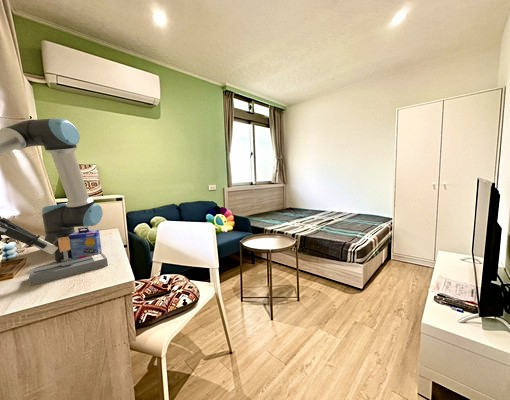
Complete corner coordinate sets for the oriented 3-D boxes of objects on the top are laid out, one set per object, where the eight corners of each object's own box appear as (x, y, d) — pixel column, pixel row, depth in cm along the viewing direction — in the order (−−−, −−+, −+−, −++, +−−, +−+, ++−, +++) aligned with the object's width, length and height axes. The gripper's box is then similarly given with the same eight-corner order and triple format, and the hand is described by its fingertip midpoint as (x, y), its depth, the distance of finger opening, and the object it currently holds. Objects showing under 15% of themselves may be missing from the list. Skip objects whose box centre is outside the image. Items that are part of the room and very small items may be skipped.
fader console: (30, 286, 73) (28, 277, 72) (31, 277, 79) (30, 269, 79) (107, 265, 88) (106, 258, 88) (103, 260, 94) (102, 253, 94)
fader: (62, 267, 79) (58, 241, 78) (61, 262, 84) (57, 238, 83) (72, 264, 81) (69, 239, 80) (71, 260, 86) (68, 236, 85)
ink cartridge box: (71, 262, 92) (67, 229, 91) (76, 258, 98) (72, 227, 96) (99, 258, 96) (95, 226, 95) (102, 254, 101) (98, 224, 100)
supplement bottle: (63, 263, 92) (60, 235, 91) (51, 262, 94) (47, 235, 93) (79, 257, 99) (76, 231, 98) (67, 256, 101) (64, 231, 99)
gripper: (-33, 219, 69) (46, 255, 82) (-46, 225, 60) (45, 264, 73) (-10, 201, 72) (62, 238, 85) (-19, 204, 63) (64, 245, 76)
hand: (55, 250), depth 79 cm, fingers closed
